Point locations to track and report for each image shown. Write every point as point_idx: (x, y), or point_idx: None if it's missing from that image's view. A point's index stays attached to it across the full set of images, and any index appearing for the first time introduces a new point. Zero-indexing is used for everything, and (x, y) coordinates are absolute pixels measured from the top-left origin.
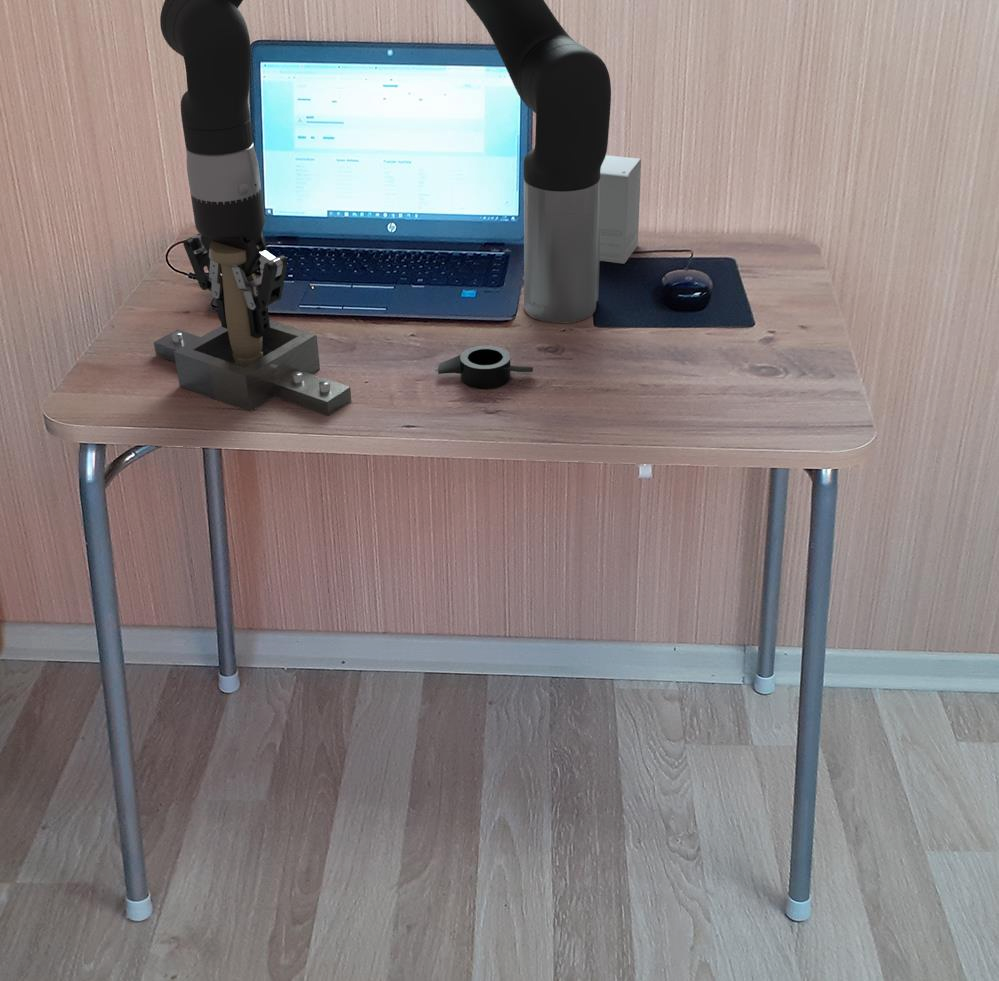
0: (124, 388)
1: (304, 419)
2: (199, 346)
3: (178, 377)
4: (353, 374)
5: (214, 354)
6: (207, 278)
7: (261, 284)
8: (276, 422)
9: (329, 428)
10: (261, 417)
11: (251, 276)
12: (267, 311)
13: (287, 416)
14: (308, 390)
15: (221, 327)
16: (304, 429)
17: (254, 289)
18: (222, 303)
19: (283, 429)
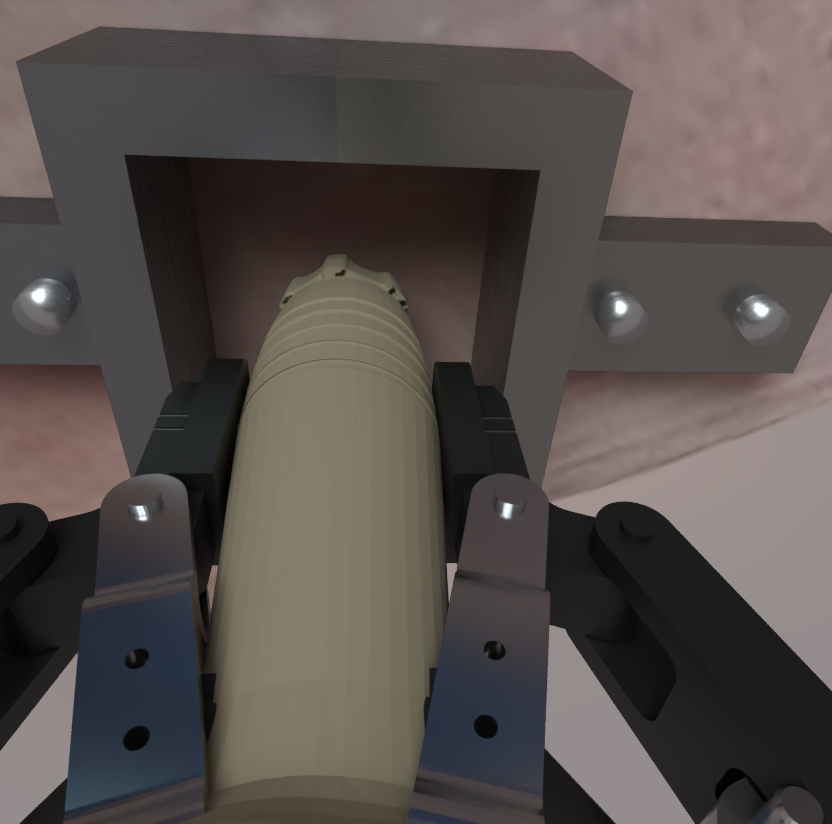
0: (55, 515)
1: (691, 390)
2: None
3: None
4: (753, 9)
5: (193, 361)
6: (33, 647)
7: (659, 764)
8: (613, 439)
9: (791, 392)
10: (554, 441)
11: None
12: (523, 466)
13: (629, 402)
14: (692, 347)
15: (97, 300)
16: (715, 429)
17: (437, 559)
18: None
19: (653, 455)
